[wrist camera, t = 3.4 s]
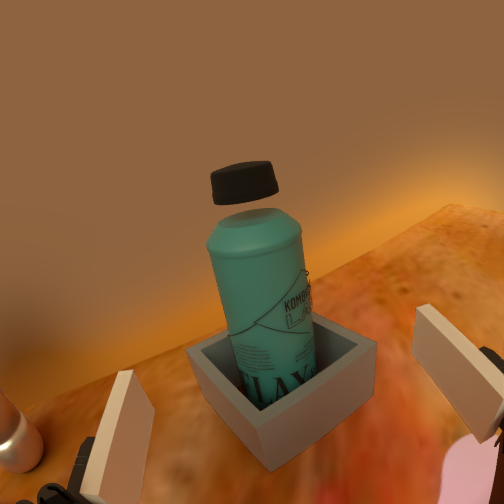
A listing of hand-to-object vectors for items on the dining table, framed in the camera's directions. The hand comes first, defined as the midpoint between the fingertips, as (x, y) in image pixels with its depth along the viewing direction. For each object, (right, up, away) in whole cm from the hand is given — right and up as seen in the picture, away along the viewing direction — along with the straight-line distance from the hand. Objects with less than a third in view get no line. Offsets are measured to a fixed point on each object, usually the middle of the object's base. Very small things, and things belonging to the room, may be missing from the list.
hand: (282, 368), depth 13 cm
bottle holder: (+2, -8, +13) cm, 15 cm away
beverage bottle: (+2, -8, +13) cm, 15 cm away
